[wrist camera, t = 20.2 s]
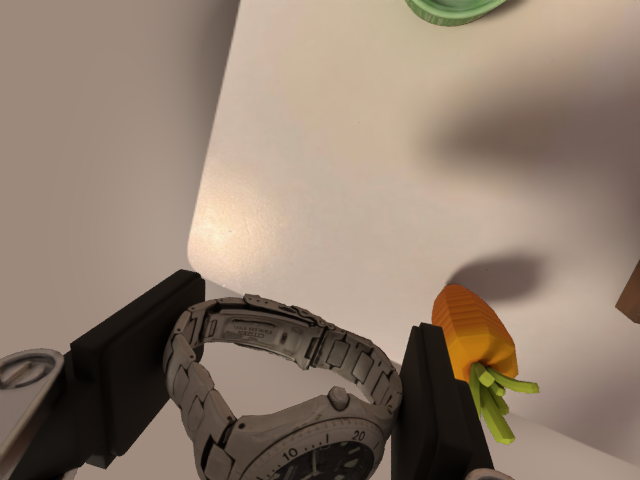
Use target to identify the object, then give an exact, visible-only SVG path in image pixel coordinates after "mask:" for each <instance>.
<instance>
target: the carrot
mask: <svg viewBox="0 0 640 480" xmlns="http://www.w3.org/2000/svg"><path fill="white" fill-rule="evenodd" d="M432 325H436V326H441V327H442V329H443V332H444V336H445V340H446V344H447V348H448V352H449V356H450V360H451V364H452V368H453V372H454V376H455V379H459V380H464V381H466V382H468V384H469V386H470V389H471V392H472V396H473V399H474V402H475V406H476V409H477V412H478V416H479V419H480V411H481V413H482V415H483V417H484V419H485V422H486V424H487V426H488V428H489V430H490V431H491V433H492V435H493V437H494V438H495V440H496V442H498V443H504V444H510V443H512V442H513V441H514V440H515V436H514V435H513V433H512V431H511V430H510V428H509V426H508V424H507V422H506V421H505V419H504V417H503V416H502V415H506V414H507V413H509V407H508V406H507V404H506V403H505V401H504V400H503V398H502V396H504V395H505V392H506V390H505V389H504V387H506V388H508V389H511V390H513V391H516V392H523V393H539V387H538V385H537V383H532V382H524V381H518V380H515V379H514V378H515V377H516V376H517V375H518V366H517V359H516V351H515V344H514V342H513V339H512V338H511V336H510V335H509V333H508V331H507V330H506V328H505V327H504V325H503V323H502V322H501V320H500V319H499V318H498V316H497V315H496V313H495V312H494V310H493V309H492V308H491V307H490V306H489V305H488V304H486V303H485V302H484V301H483V300H482V299H481V298H480V297H479V296H477V295H476V294H474V293H473V292H471V291H469V290H468V289H466V288H464V287H463V286H461V285H458V284H454V285H447V286H445V287H444V289H443V290H442V291H441V292H440V294H439V295H438V296H437V298H436V299H435V301H434V306H433V311H432Z"/></svg>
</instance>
